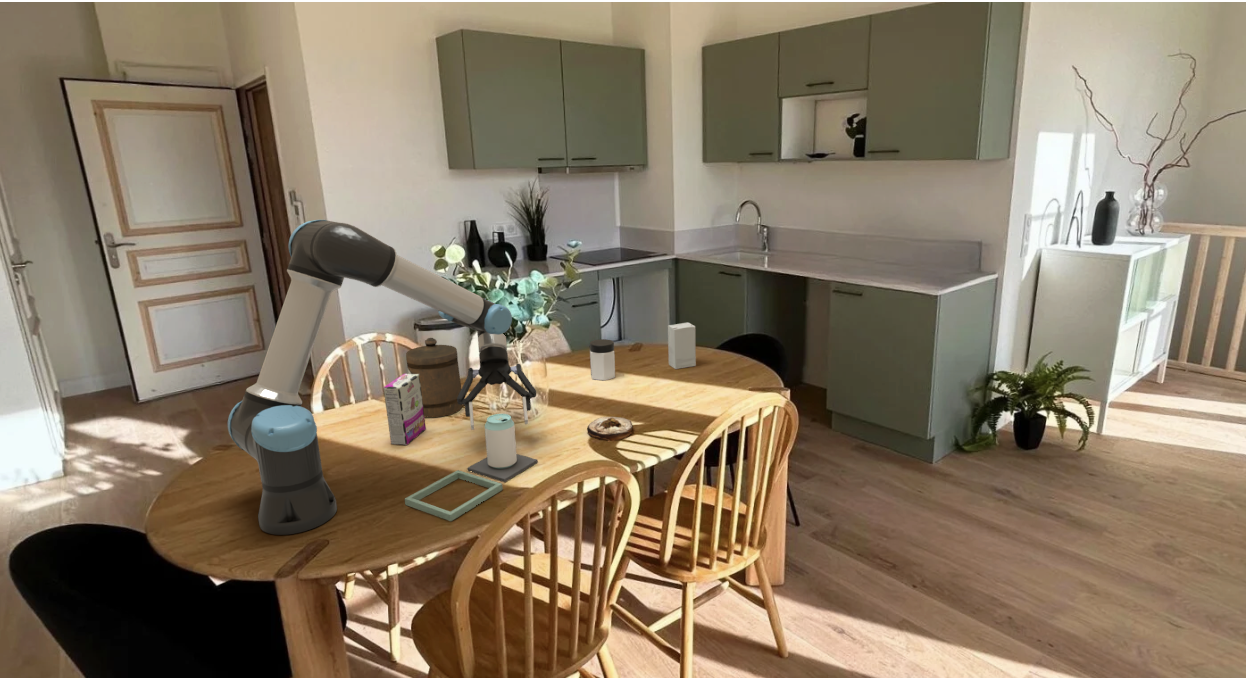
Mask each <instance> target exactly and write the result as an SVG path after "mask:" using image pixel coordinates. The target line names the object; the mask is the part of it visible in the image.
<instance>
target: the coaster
mask: <svg viewBox="0 0 1246 678" xmlns="http://www.w3.org/2000/svg"><path fill="white" fill-rule="evenodd" d="M516 455H517V461H516V463H514V464H513V465H512V466H510V467H508V468H503V469H497V468H493V467H491V466H490V465H488V462H487V456H486V457H485V458H483V459H481V460H479V461H476V463H473V464H472V465H470V466H468V467H467V468H466V470H468V471H467V472H470V471H472V472H471V473H473V472H474V473H473V474H476V473H477V474H476V475H479V474H480V476H483V475H484V476H483V477H486V476H487V477H486V478H490V479H493V480H496V481H500V482H502V483H506V482H508V481H509V480H511V479H513V478H514V477H516V476H517V475H519V474H521V473H523V472H524V471H526V470H528V469H529V467H530V468H531V467H533V466H534V464H535V465H536V464H537V462H538V459H537V458H534V457H529V456H526V455H522V454H518V453H516ZM538 463H539V462H538Z"/></svg>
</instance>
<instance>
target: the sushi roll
mask: <svg viewBox="0 0 1246 678" xmlns="http://www.w3.org/2000/svg"><path fill="white" fill-rule="evenodd" d="M633 427H634V425H633V423H632V420H630V419H627V418H625V417H617V416H603V417H598V418H596V419H594V420H593V421H591V422H590V423H589V424H588V426H587V428H586V431H587V434H588V435H589V437H591V438H593V439H597V440H605V441H607V442H608V443H610V442H612V443H613V442H614V441H620V440H623V439H625V438H627V437H629V436H630V435H632V436H633V433H632V432H631V431H632V430H633Z"/></svg>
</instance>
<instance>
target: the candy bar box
mask: <svg viewBox="0 0 1246 678" xmlns="http://www.w3.org/2000/svg"><path fill="white" fill-rule="evenodd" d="M382 389H383V395H384V404H385V409H386V416H387V424H388V431H389V438H390V444H391V445H397V446H408V445H409V444H410V443H411V442H412V441H414V440H415V439H416V438H418V436H419V435H421V434H422V433H423V432H424V431H425V430H427V427H426V419H425V418H426V417H424V410H423V402H422V394H421V386H420V378H419V374H408V373H403V374H402V375H401V374H400V376H399V377H396V378H395V379H394V380H392V381H391V382H389V383H388V384H386V385H384V386H383V387H382Z"/></svg>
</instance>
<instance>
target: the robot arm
mask: <svg viewBox="0 0 1246 678" xmlns="http://www.w3.org/2000/svg"><path fill="white" fill-rule="evenodd" d="M288 252H289V255H290V260H289V263H288V266H287V269H286V272H287V274H288V275H289V277H290V280H291V281H290V284H289V287H288V289H287V293H286V296H285V299H284V301H283V305H282V307H281V310H280V313H279V316H278V319H277V322H276V325H275V329H274V331H273V333H272V336H271V339H270V343H269V346H268V348H267V352H266V355H265V357H264V360H263V364H262V366H261V369H260V372H259V375H258V377H257V380H256V383H254V384H253V385H250V386H249V387H247V388H246V390H245V393H244V395H243V398H242V399H241V400H240V402H237V403H236V404H235V405H234V407H233V408H231V411H230V413H229V415H228V418H227V419H228V420H227V431H228V434H229V436H230V438H231V439H232V441H233V442H234V443H235V445H236V446H237V447H239V449H241V450H242V451H244V452H245V453H247V454H248V455H249V456H251V457H252V458H253V459H255V461H256V462H257V464H258V469H259V476H260V481H261V486H262V493H261V499H260V502H259V503H260V505H259V510H258V515H257V516H258V517H257V518H258V524H259V528H260V530H262V532H265V533H267V534H270V535H276V536H279V535H281V536H283V535H284V536H285V535H293V534H299V533H302V532H303V533H304V532H306V531H307V532H308V531H309V530H312V529H315V528H318V527H320V526H321V525H324V524H325V523H326V522H329V520H331V519H333V517H334V516H335V514H336V512H337V509H338V504H337V499H336V497H335V495H334V493H333V491H332V490H331V488H330V486H329V485H328V483H327V481H326V479H325V477H324V471H323V467H322V460H321V453H320V446H319V445H320V444H319V440H318V426H317V423H316V421H315V418H314V415H313V413H312V412H311V411H310V410H309V409H307V408H305V407H303V406H302V404H303V400H302V399H301V397H300V395H299V391H300V387H301V384H302V382H303V378H304V375H305V372H306V369H307V367H308V363H309V360H310V357H311V355H312V352H313V349H314V346H315V343H316V339H317V337H318V334H319V331H320V329H321V325H322V321H323V319H324V316H325V314H326V310H327V307H328V304H329V301H330V298H331V295H332V293H333V292H334V291H336V290H338V289H341V288H342V285H343V284H344V280H345V279H350V280H354V281H357V282H361V283H364V284H366V285H369V286H371V287H374V288H378V287H381V286H382V287H385V288H387V289H388V290H391V291H394V292H395V293H396V292H397V293H398V294H401V295H403V296H405V297H407V298H410V299H411V300H414V301H416V302H418V303H421V304H423V305H425V306H427V307H429V308H432V309H434V310H436V311H437V312H438V315H439V317H441V318H442V319H444V320H446V321H448V322H452V323H454V324H457V325H460V326H462V327H466V328H469V329H472V330H473V331H476V333H477V344H478V352H479V353H478V356H479V368H478V369H474V368H472V367H469V368H468V369H467V377H466V378H465V381H464V382H463V384H462V386H461V391H460V393H459V395H458V397H457V402H458V404H463V407H464V414H465V417H466V418H469V421H470V430H471V431H472V430H475V423H474V419H475V418H474V407H473V402H474V400H475V399H476V398H477V397H478V395H479V394H480V393H481V391H482V390H483V389H484V388H485V387H486V386H487V385H490V386H493V385H502V384H504V383H505V384H506V386H508V387H510V388H511V389H513V390H514V392H516V393H517V394H518V395H520V396H521V398H522V410H523V419H524V424H525V425H529V417H528V412H529V411H531V410H532V404H531V403H532V402H531V399H532V398H536V397H537V389H536V388H535V387H534V385H533V384H532V383H531V382H530V380H529V379H528V377H527V376H526V375H525V373H524V372H523V370H522V366H521V364H520V363H516V365H513V366H510V363H509V355H508V351H507V350H508V345H507V336H505V335H506V332H507V331H508V330H509V329H510V327H511V325H512V320H513V316H512V315H513V314H512V312H511V310H510V309H509V308H508V307H507V306H505V305H503V304H502V303H501V304H502V305H501V304H495V303H493V302H491V301H489V300H486V298H484V297H482V296H480V295H478V294H476V293H474V292H472V291H470V290H468V289H466V288H465V287H463V286H460V285H458V284H457V283H454V282H452V281H451V280H449V279H446V278H445V277H442V276H440V275H438V274H437V273H434V272H432V271H431V270H428V269H427V268H424V267H422V266H420V265H418V264H416V263H414V262H412V261H410V260H408V259H406V258H404V257H402V256H400V255H398V254H397V251H396V249H395V248H394V247H393V246H390V244H389V245H388V244H386V243H385V242H383V241H381V240H379V239H377V238H376V237H374V236H372V235H371V234H369V233H367V232H365V231H364V230H362V229H360V228H359V227H356V226H355V225H351V224H349V223H345V222H338V221H332V220H326V219H315V220H308V221H306V222H304V223H302V224H300V225H299V226H297V227H296V228H295V229H294V230H293V231H292V233H291V235H290V237H289V241H288ZM503 333H505V335H504V334H503ZM511 373H513V374H514V375H517V377H518V379H519V380H520V382H521V383H522V385H523V386H522V385H520V384H519V382H517V381H516V380H515V379H513V377H512V376H511ZM477 376H479V377H480V379H479V381H478V382H477V383H476V384H475V385H474V387H473V388H472V389H471V391H470V392H469V393H468V391H469V390H470V388H471V385H472V383H473V380H474V379H476V378H477ZM467 393H468V394H467Z"/></svg>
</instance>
